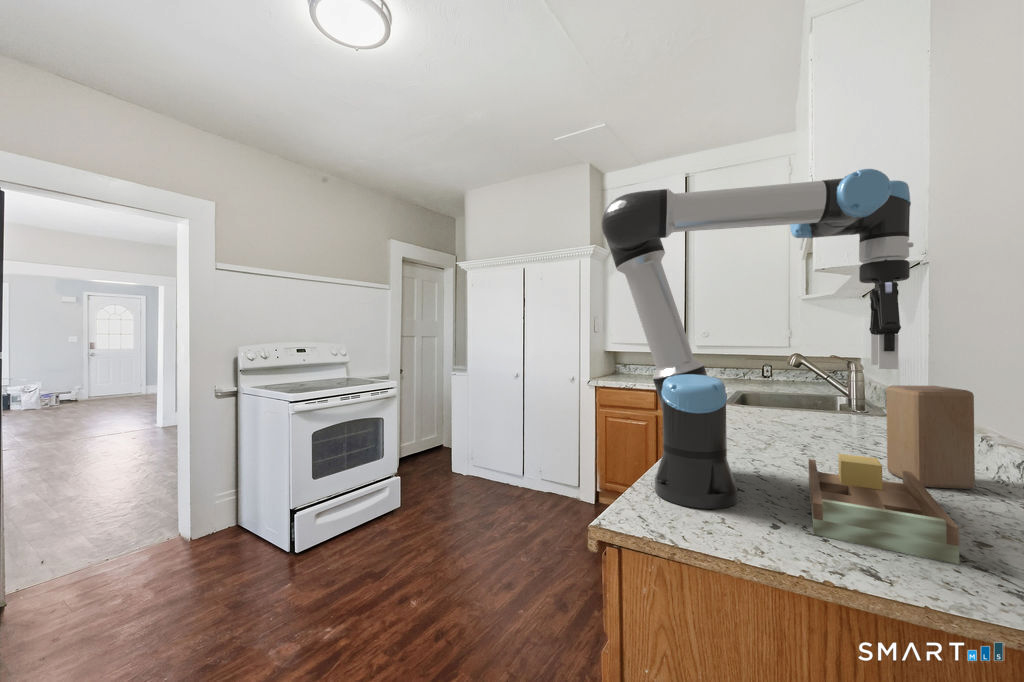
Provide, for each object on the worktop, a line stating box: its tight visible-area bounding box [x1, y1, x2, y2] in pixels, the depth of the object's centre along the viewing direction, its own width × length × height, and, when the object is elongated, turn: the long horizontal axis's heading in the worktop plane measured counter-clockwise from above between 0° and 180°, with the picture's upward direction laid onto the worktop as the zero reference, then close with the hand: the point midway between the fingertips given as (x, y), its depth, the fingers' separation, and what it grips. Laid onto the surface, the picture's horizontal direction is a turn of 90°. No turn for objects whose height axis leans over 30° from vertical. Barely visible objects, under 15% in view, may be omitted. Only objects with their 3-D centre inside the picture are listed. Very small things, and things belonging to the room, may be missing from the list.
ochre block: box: [837, 453, 883, 490], centre depth 81 cm, size 6×6×4 cm
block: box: [885, 384, 976, 490], centre depth 88 cm, size 10×10×20 cm
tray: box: [808, 458, 960, 565], centre depth 72 cm, size 16×28×6 cm, turn 145°
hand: (883, 367), depth 83 cm, fingers open, 13 cm apart
